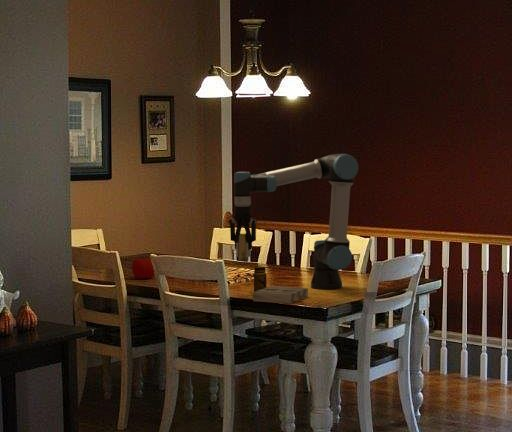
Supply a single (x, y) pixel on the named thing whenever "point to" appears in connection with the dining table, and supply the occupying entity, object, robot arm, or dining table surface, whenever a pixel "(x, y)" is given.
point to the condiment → (259, 278)
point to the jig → (280, 294)
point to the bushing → (242, 247)
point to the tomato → (142, 268)
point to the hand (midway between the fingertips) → (243, 256)
